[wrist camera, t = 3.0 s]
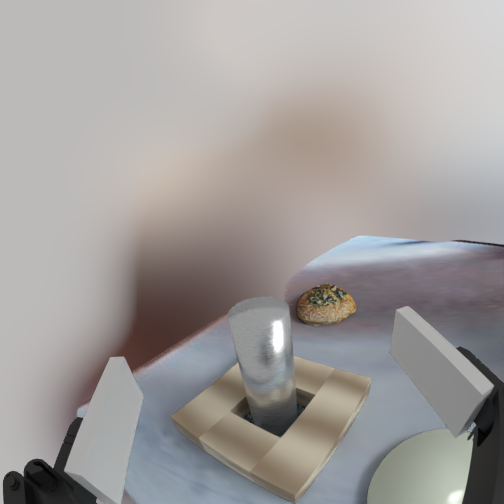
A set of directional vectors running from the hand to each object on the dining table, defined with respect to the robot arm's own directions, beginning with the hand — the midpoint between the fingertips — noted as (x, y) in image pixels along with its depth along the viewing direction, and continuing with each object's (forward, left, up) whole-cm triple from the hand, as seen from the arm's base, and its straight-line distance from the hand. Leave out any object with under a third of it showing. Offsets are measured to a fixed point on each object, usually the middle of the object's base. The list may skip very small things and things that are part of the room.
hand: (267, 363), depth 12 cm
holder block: (-7, -7, -18) cm, 20 cm away
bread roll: (-31, -12, -19) cm, 38 cm away
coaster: (-5, +13, -18) cm, 23 cm away
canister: (-7, -7, -18) cm, 21 cm away
